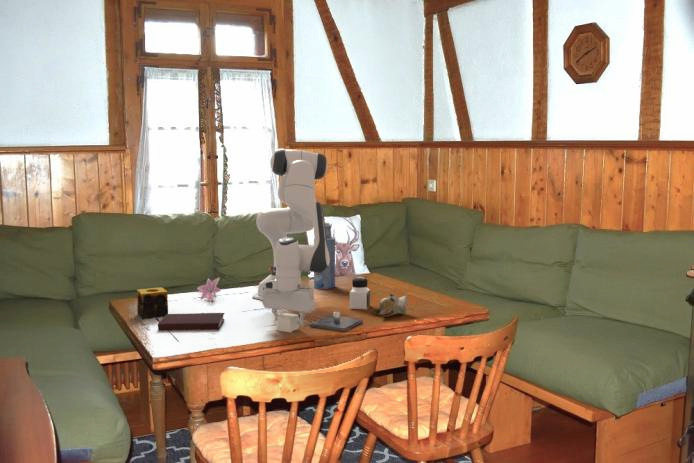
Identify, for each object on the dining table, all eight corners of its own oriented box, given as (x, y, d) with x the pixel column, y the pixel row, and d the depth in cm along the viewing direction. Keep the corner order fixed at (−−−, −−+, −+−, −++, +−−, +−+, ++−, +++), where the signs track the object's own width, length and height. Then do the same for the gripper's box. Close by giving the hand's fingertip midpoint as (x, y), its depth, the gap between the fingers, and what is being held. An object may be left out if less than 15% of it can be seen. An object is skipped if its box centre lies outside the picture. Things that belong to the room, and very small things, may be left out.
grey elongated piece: (309, 287, 321) (309, 222, 317) (325, 284, 328) (325, 220, 324) (323, 290, 314) (322, 224, 310) (339, 287, 321) (339, 222, 317)
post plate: (310, 326, 251) (310, 314, 251) (329, 318, 264) (329, 306, 263) (344, 331, 245) (344, 318, 244) (362, 322, 257) (362, 310, 256)
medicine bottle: (367, 309, 277) (367, 280, 275) (349, 309, 278) (349, 279, 277) (370, 305, 284) (370, 276, 282) (352, 305, 285) (352, 276, 284)
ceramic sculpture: (413, 293, 265) (378, 300, 259) (414, 316, 266) (380, 322, 260) (400, 289, 274) (366, 294, 268) (401, 310, 276) (367, 316, 270)
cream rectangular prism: (277, 330, 247) (277, 316, 246) (285, 326, 251) (285, 312, 251) (290, 332, 244) (290, 317, 243) (298, 328, 249) (298, 314, 248)
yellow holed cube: (141, 320, 262) (140, 294, 261) (136, 314, 271) (135, 289, 270) (169, 316, 267) (168, 291, 266) (163, 311, 276) (162, 286, 275)
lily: (197, 299, 302) (191, 283, 296) (218, 287, 306) (213, 271, 301) (208, 311, 294) (202, 295, 289) (230, 299, 298) (225, 283, 293)
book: (218, 331, 247) (218, 321, 247) (157, 332, 247) (157, 322, 247) (225, 321, 261) (224, 312, 261) (167, 322, 261) (166, 312, 261)
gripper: (318, 284, 243) (318, 323, 245) (269, 280, 253) (270, 317, 255) (308, 288, 238) (309, 327, 240) (259, 283, 248) (260, 321, 249)
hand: (288, 322), depth 247 cm, fingers open, 8 cm apart
